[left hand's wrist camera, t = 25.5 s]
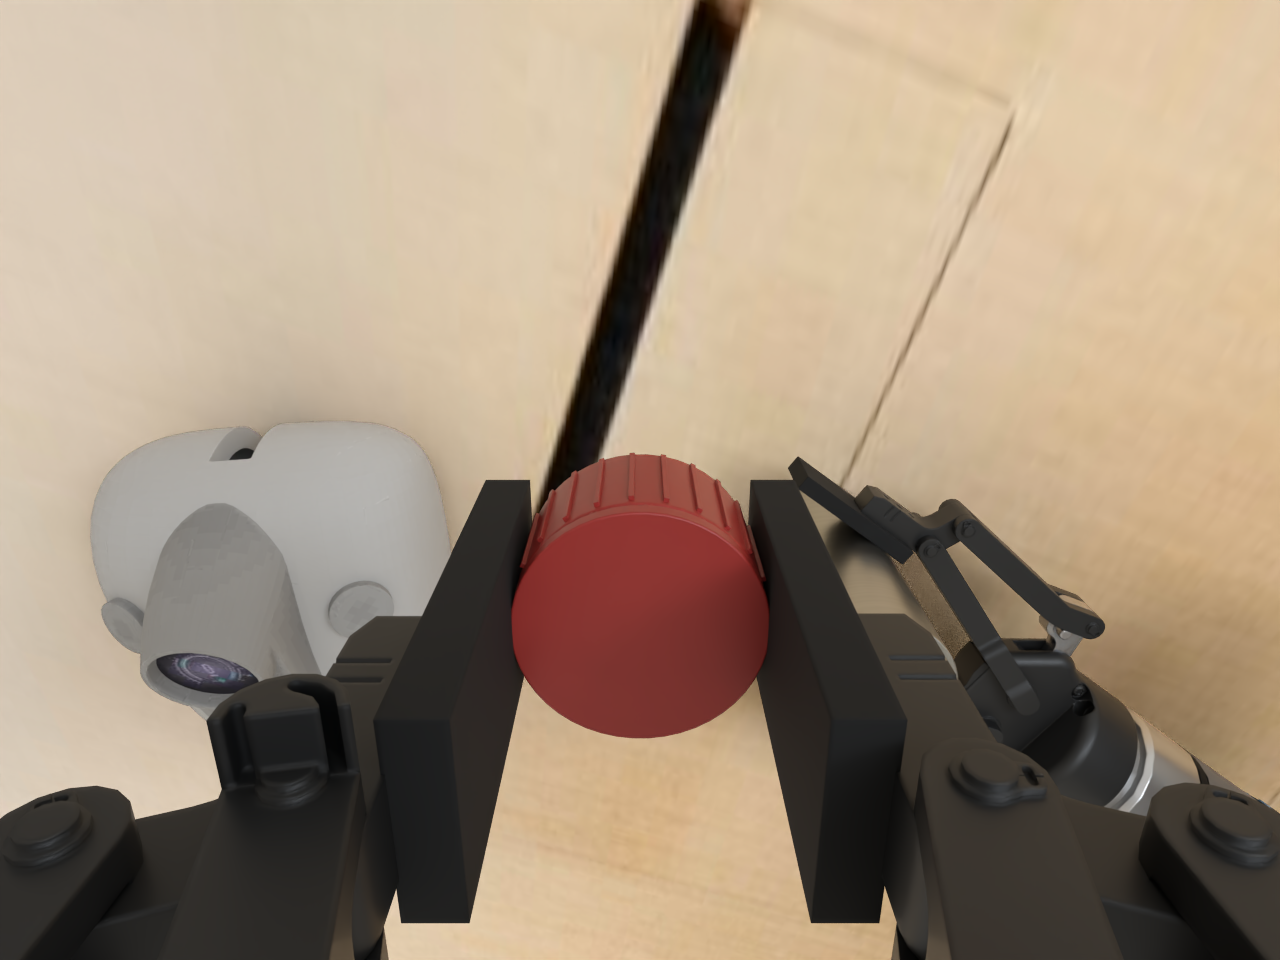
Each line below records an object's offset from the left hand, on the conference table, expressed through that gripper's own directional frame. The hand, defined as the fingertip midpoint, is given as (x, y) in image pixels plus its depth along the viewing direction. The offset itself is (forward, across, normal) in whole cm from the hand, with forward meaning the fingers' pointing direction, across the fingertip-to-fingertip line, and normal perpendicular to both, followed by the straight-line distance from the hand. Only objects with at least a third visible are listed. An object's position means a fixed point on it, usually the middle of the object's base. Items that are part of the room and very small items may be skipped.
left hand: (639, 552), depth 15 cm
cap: (-2, 0, 0) cm, 2 cm away
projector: (+30, -17, -17) cm, 38 cm away
